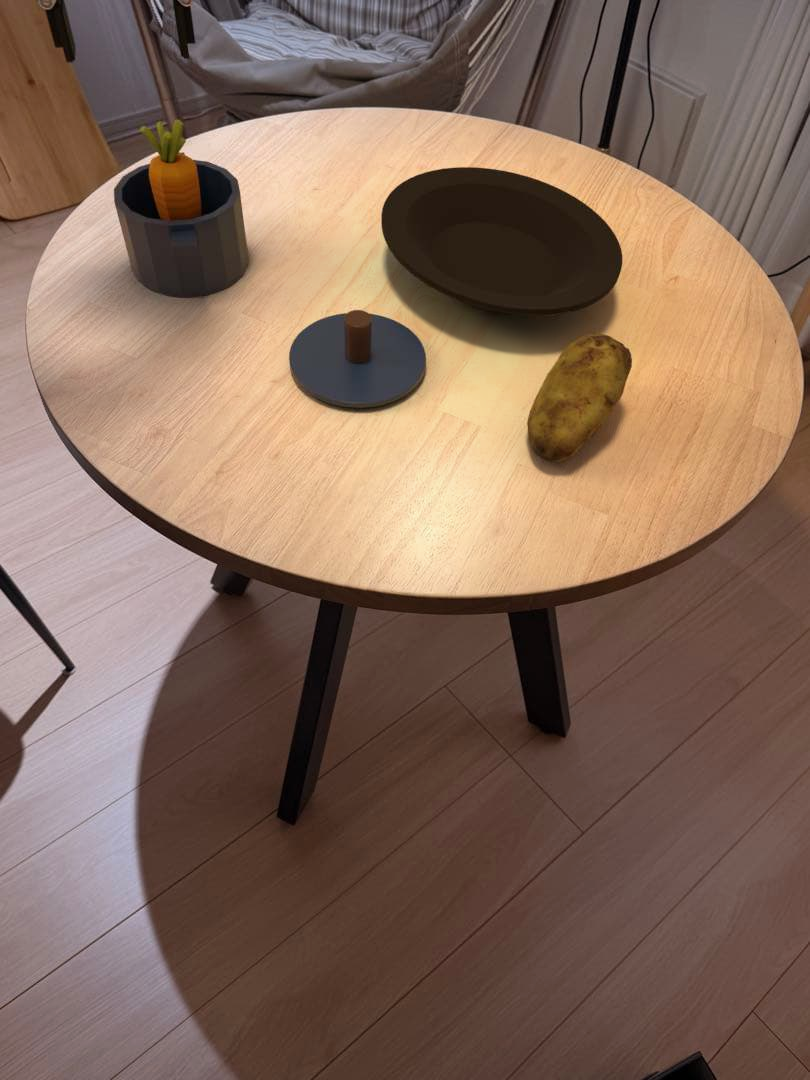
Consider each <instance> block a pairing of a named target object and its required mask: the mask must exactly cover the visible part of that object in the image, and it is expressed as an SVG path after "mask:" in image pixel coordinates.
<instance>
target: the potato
mask: <svg viewBox="0 0 810 1080" xmlns="http://www.w3.org/2000/svg"><path fill="white" fill-rule="evenodd" d="M632 368H633V358H632V353H631V351H630V348H628V347H626V346H625V344H624V343H622V342H620V341H619V340H617V339H615V338H613V337H612V336H610V335H607V334H598V333H588V334H585V335H582V336H581V337H579V338H576V339H575V340H574V341H572V342H571V343H569V345H568V346H567V347H566V348H565V349H564V350H563V351H562V352H561V353H560V355H559V356H558V357H557V360H556V361H555V362H554V364H553V365H552V367H551V369H550V370H549V371H548V372H547V374H546V376H545V379H544V381H543V382H542V384H541V386H540V387H539V390H538V392H537V394H536V396H535V398H534V400H533V403H532V405H531V407H530V410H529V413H528V417H527V424H526V427H527V434H528V439H529V443H530V446H531V449H532V451H533V454H534V455H536V456H537V457H539V458H540V459H542V460H543V461H545V462H548V463H560V462H563V461H565V460H568V459H571V458H572V457H573V456H575V455H576V454H577V453H578V452H580V449H581V447H582V446H583V444H584V443H586V442H587V441H588V440H589V439H591V438H592V437H594V436H595V434H596V433H597V431H598V430H599V429H600V428H602V426H603V423H604V422H605V421H606V419H607V418H608V416H609V415H610V414H611V413H612V412H613V410H614V409H615V407H616V405H617V404H618V403H619V401H620V399H621V398H622V396H623V395H624V391H625V387H626V383H627V380H628V378H629V375H630V373H631V370H632Z"/></svg>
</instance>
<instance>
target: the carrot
mask: <svg viewBox="0 0 810 1080" xmlns="http://www.w3.org/2000/svg"><path fill="white" fill-rule="evenodd" d="M156 129H157V132H158V137H159V141H160V143H159V141H158V139H157V138H156V136H155V134H154V133H153V132H152V131H151V130H150V129H149V128H148V127H146V126H145V125H143V126H141V128H140V129H139V132H140V133H141V135H143V136H144V137H145V138H146V139H147V141H148V142H149V143H150V144H151V146H152V147H153V148H154V150H155V151H156V152H157V154H158V155H156V156H154V157H152V158H151V160H150V162H149V164H150V167H149V180H150V184H151V188H152V192H153V196H154V199H155V203H156V206H157V210H158V213H159V216H160V218H161V220H166V221H176V220H188V219H194V218H197V217H201V196H200V187H199V179H198V172H197V166H196V163H195V161H194V160H195V159H193V158H191V157H189V156H188V155H187V154H185V155H184V154H182V152H181V150H182V149H183V147H184V146H185V144H186V142H187V140H186V139H185V138H183V137H182V133H183V129H184V123H183V122H182V120H181V119H174V122H173V125H172V129H171V132H170V131H168V130H165V127H164V123H163V122H162V121H157V123H156Z"/></svg>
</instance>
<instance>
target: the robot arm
mask: <svg viewBox="0 0 810 1080" xmlns="http://www.w3.org/2000/svg"><path fill="white" fill-rule="evenodd" d="M36 1H37V3H38V5H39V6H40V7H41V8H42V9H44V11H45V15H46V18H47V22H48V26H49V29H50V34H51V37H52V41H53V44H54V47H55V49H59V48H61V49H63V50H62V51H63V55H64V57H65V61H66V63H74V61H76V43H75V38H74V35H73V31H72V27H71V23H70V18H69V14H68V10H67V6H66V2H65V0H36ZM193 3H194V0H172V5H173V12H174V13H173V14H174V19H175V24H176V31H177V39H178V46H179V52H180V57H181V58H183V60H185V59H190V50H189V45H192V44H193V45H195V44H196V37H195V29H194V22H193V14H192V7H191V6H192V4H193Z"/></svg>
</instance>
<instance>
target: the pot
mask: <svg viewBox="0 0 810 1080" xmlns="http://www.w3.org/2000/svg"><path fill="white" fill-rule="evenodd" d="M181 153H182V154H184V155H186V154H185V152H181ZM193 160H194V161H195V163H196V166H197V172H198V179H199V187H200V196H201V217H197V218H194V219H188V220H176V221H166V220H161V218H160V216H159V213H158V210H157V206H156V203H155V199H154V196H153V192H152V188H151V184H150V180H149V167H150V163H147V164H144V165H140V166H138V167H137V168H135V169H133V170H131V171H129V172H128V173H126V174H124V175H123V176H122V177H121V178H120V179H119V180H118V182H117V183H116V185H115V187H114V188H113V202H114V206H115V210H116V212H117V218H118V222H119V225H120V230H121V233H122V237H123V242H124V245H125V248H126V252H127V256H128V260H129V263H130V268H131V270H132V272H133V274H134V277H135V278H136V280H137V281H138V282H139V283H140V284H141V285H142V286H143V287H145V288H146V289H149V290H150V291H152V292H155V293H157V294H161V295H163V296H168V297H174V298H175V297H176V298H197V297H203V296H204V297H205V296H208V295H213V294H215V293H219V292H221V291H223V290H225V289H227V288H230V287H231V286H233V285H235V284H236V283H237V282H238V281H239V280H240V279H241V278H242V277H243V275H244V274H245V272H246V271H247V269H248V265H249V253H248V245H247V244H248V243H247V236H246V229H245V222H244V220H245V219H244V212H243V204H242V203H243V202H242V196H241V195H242V194H241V189H240V185H239V180H238V179H237V178H236V176H234V175H233V174H232V173H231V172H230V171H229V170H228V169H227V168H225V167H222V166H220V165H218V164H215V163H213V162H210V161H207V160H206V161H205V160H198V159H193Z"/></svg>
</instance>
